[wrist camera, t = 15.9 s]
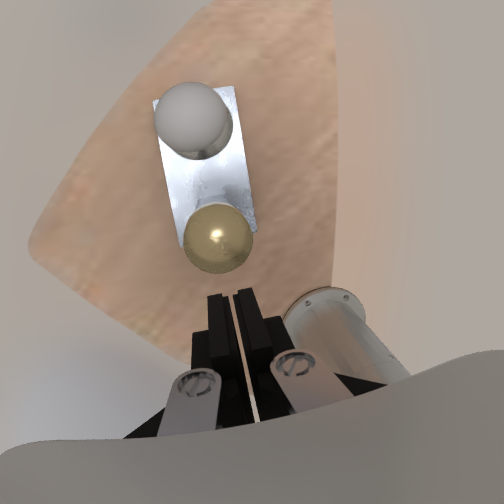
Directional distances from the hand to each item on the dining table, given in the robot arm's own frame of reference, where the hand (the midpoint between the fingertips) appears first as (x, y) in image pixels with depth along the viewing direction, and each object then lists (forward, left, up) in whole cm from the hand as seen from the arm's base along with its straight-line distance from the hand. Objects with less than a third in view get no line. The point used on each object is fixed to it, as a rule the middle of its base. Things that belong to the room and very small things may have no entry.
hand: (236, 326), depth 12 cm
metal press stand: (+5, -2, -27) cm, 27 cm away
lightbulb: (+9, -3, -25) cm, 27 cm away
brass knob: (0, 0, -18) cm, 18 cm away
